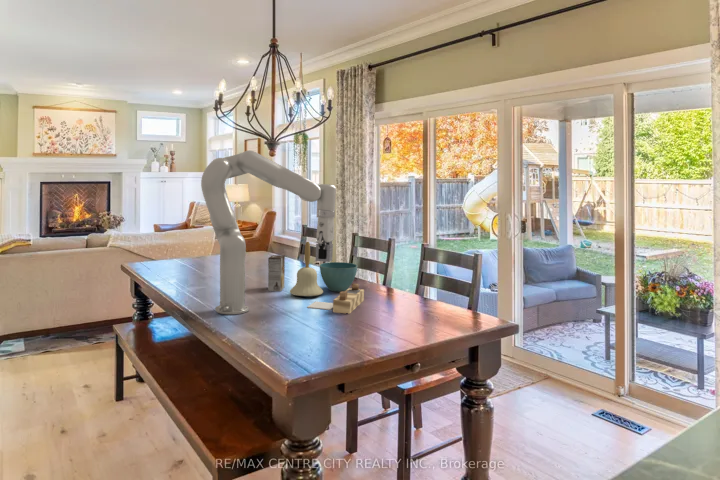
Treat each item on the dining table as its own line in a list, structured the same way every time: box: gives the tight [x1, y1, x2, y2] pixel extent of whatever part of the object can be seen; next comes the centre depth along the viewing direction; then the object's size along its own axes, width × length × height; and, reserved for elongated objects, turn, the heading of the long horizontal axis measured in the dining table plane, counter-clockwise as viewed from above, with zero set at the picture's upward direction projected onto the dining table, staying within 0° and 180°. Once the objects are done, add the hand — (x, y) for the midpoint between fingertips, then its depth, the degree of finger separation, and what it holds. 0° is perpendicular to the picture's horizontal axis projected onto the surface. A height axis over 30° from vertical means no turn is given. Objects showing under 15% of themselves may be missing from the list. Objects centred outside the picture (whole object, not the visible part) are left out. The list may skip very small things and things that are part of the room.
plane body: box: [332, 283, 365, 315], centre depth 206 cm, size 24×7×8 cm, turn 166°
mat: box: [306, 301, 333, 311], centre depth 205 cm, size 10×10×1 cm
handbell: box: [289, 241, 324, 297], centre depth 222 cm, size 15×15×25 cm
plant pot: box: [319, 261, 358, 293], centre depth 237 cm, size 18×18×12 cm
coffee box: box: [267, 254, 286, 292], centre depth 234 cm, size 9×6×16 cm
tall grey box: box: [315, 243, 334, 263], centre depth 202 cm, size 4×6×7 cm, turn 76°
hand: (323, 257), depth 203 cm, fingers closed on tall grey box, 4 cm apart
